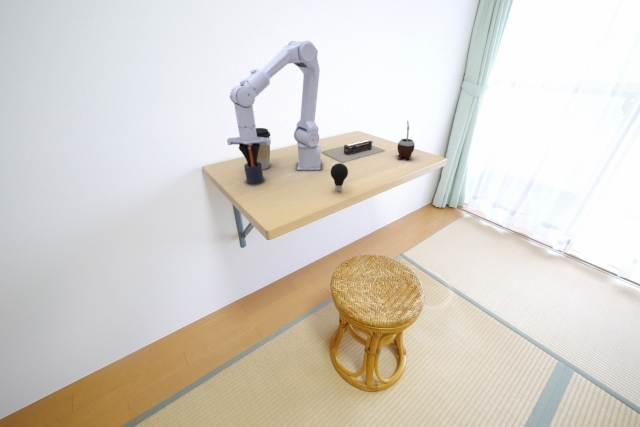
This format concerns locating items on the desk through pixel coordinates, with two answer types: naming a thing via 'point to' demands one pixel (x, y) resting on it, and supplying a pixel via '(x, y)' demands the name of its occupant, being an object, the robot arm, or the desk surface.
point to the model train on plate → (353, 151)
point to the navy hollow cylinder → (254, 173)
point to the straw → (251, 156)
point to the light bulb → (339, 175)
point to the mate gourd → (405, 147)
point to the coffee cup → (263, 148)
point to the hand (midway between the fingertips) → (252, 163)
